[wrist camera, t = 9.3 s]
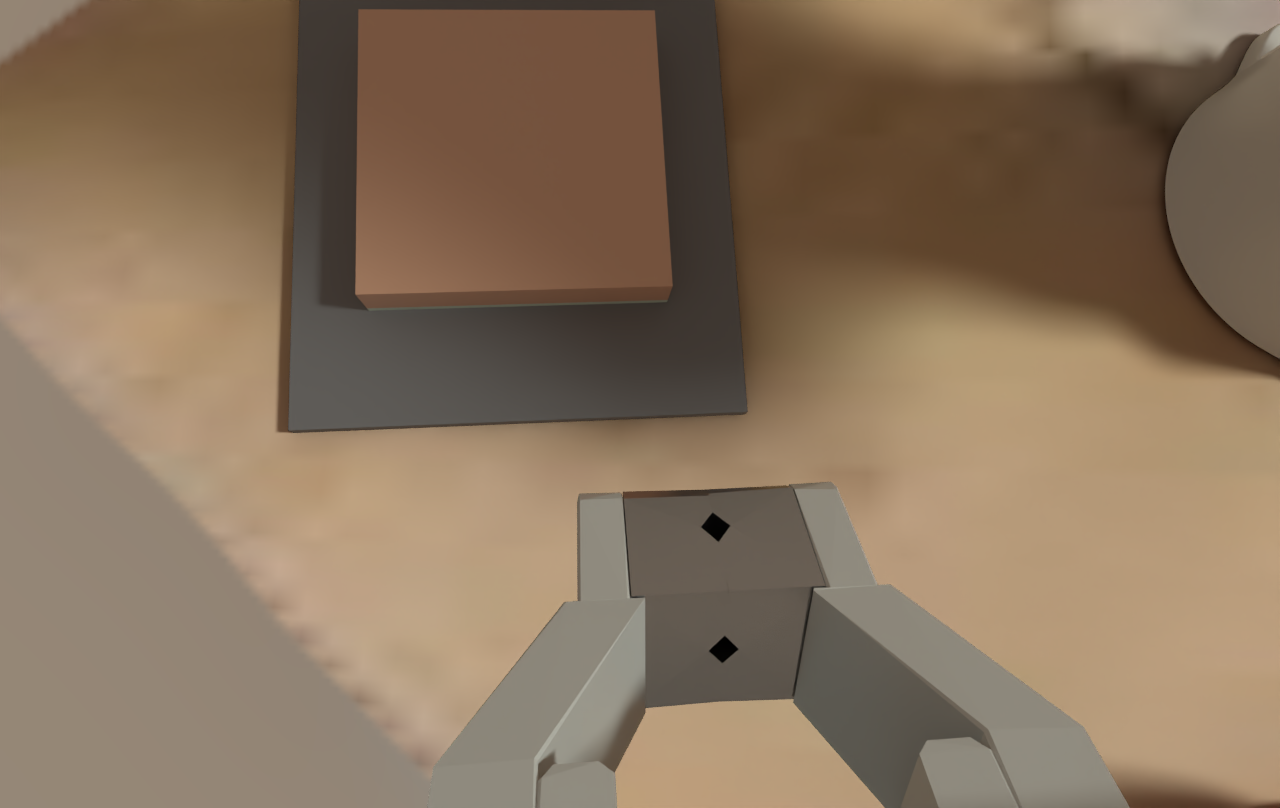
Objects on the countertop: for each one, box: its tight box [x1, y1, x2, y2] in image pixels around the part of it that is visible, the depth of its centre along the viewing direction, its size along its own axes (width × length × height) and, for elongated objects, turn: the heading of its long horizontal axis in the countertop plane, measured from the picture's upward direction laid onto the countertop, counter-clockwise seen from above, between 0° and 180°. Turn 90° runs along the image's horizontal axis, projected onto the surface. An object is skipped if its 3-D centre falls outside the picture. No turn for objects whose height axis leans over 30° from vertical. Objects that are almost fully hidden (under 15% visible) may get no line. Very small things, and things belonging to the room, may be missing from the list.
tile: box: [355, 9, 673, 311], centre depth 33 cm, size 12×2×12 cm
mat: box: [288, 0, 747, 433], centre depth 34 cm, size 18×20×1 cm
